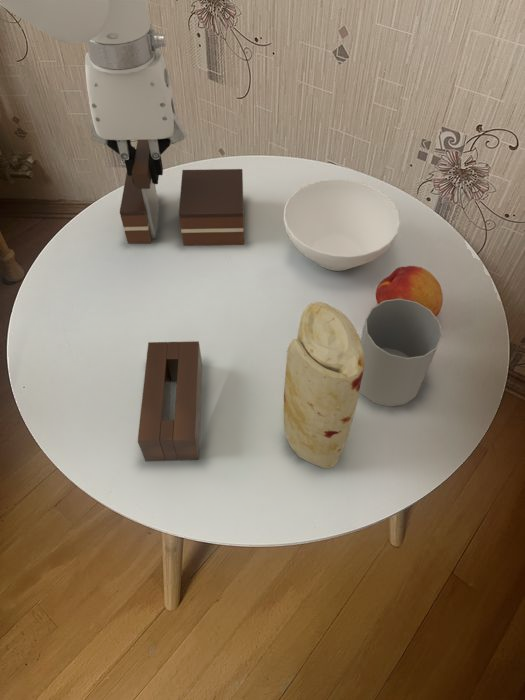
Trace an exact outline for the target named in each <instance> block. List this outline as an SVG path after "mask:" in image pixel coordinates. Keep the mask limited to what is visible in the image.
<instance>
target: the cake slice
mask: <svg viewBox="0 0 525 700" xmlns="http://www.w3.org/2000/svg"><path fill="white" fill-rule="evenodd" d="M120 201H121V202H120V208H119V215H120V220H121V223H122V227H123V230H124V235H125V238H126V242H127V244H152V240H153V239H152V237H151V232H150V227H149V223H148V218H147V213H146V209H145V204H144V199H143V194H142V190H141V189H135V185H134V184H133V180H132V176H128V174H127V172H126V174H125V179H124V185H123V190H122V196H121V200H120Z"/></svg>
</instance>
